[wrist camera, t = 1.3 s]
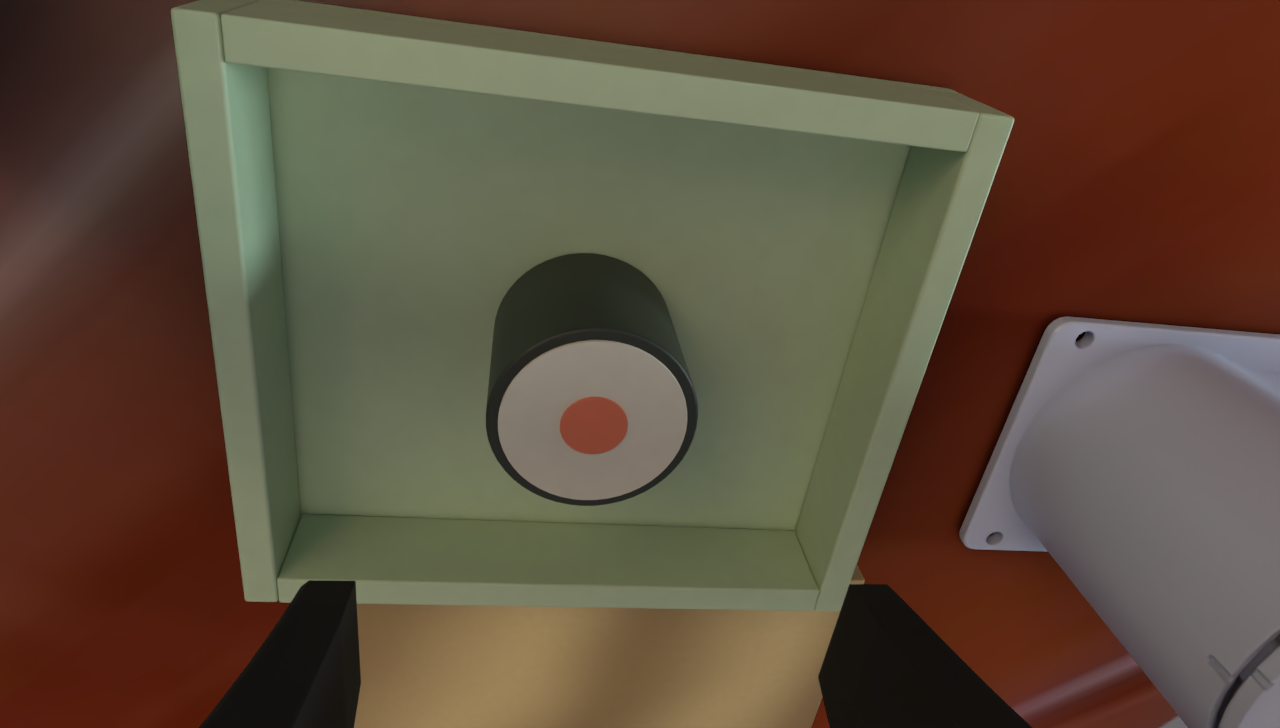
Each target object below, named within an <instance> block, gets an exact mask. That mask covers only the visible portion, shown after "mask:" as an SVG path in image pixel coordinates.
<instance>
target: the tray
mask: <svg viewBox="0 0 1280 728" xmlns="http://www.w3.org/2000/svg"><path fill="white" fill-rule="evenodd" d="M171 19H172V27H173V35H174V43H175V51H176V59H177V66H178V74H179V82H180V90H181V98H182V106H183V114H184V122H185V130H186V138H187V146H188V154H189V161H190V169H191V177H192V185H193V193H194V201H195V209H196V217H197V225H198V233H199V241H200V248H201V256H202V264H203V272H204V280H205V288H206V296H207V304H208V312H209V320H210V328H211V336H212V343H213V351H214V359H215V367H216V375H217V383H218V391H219V399H220V407H221V415H222V423H223V430H224V438H225V446H226V454H227V462H228V470H229V478H230V486H231V494H232V502H233V510H234V518H235V525H236V533H237V541H238V549H239V557H240V565H241V573H242V581H243V589H244V597H245V600H246V601H248V602H277V601H278V599H279V601H280V602H288V603H291V601H292V600H293V598H294V597H295V595H296V593H297V592H298V590H299V589H300V587H301V586H302V585H304V584H305V583H306V582H308V581H309V580H313V581H355V582H356V600H357V604H409V605H470V606H531V607H591V608H652V609H713V610H774V611H813V609H814V610H815V611H840V610H841V607H842V604H843V601H844V598H845V596H846V593H847V590H848V587H849V584H850V582H851V579H852V576H853V573H854V570H855V567H856V565H857V562H858V559H859V556H860V553H861V551H862V548H863V545H864V542H865V539H866V537H867V534H868V531H869V528H870V525H871V523H872V520H873V517H874V514H875V511H876V508H877V506H878V503H879V500H880V497H881V494H882V492H883V489H884V486H885V483H886V480H887V478H888V475H889V472H890V469H891V466H892V464H893V461H894V458H895V455H896V452H897V449H898V447H899V444H900V441H901V438H902V435H903V433H904V430H905V427H906V424H907V421H908V419H909V416H910V413H911V410H912V407H913V405H914V402H915V399H916V396H917V393H918V390H919V388H920V385H921V382H922V379H923V376H924V374H925V371H926V368H927V365H928V362H929V360H930V357H931V354H932V351H933V348H934V346H935V343H936V340H937V337H938V334H939V332H940V329H941V326H942V323H943V320H944V317H945V315H946V312H947V309H948V306H949V303H950V301H951V298H952V295H953V292H954V289H955V287H956V284H957V281H958V278H959V275H960V273H961V270H962V267H963V264H964V261H965V258H966V256H967V253H968V250H969V247H970V244H971V242H972V239H973V236H974V233H975V230H976V228H977V225H978V222H979V219H980V216H981V214H982V211H983V208H984V205H985V202H986V199H987V197H988V194H989V191H990V188H991V185H992V183H993V180H994V177H995V174H996V171H997V169H998V166H999V163H1000V160H1001V157H1002V155H1003V152H1004V149H1005V146H1006V143H1007V140H1008V138H1009V135H1010V132H1011V129H1012V126H1013V124H1014V118H1013V117H1012V116H1010V115H1008V114H1005V113H1003V112H1001V111H998V110H996V109H994V108H992V107H989V106H987V105H985V104H982V103H980V102H978V101H976V100H973V99H971V98H969V97H967V96H964V95H962V94H960V93H957V92H956V91H954V90H951V89H949V88H942V87H934V86H927V85H920V84H912V83H905V82H897V81H890V80H883V79H875V78H868V77H860V76H853V75H846V74H838V73H831V72H823V71H816V70H809V69H801V68H794V67H786V66H779V65H772V64H764V63H757V62H749V61H742V60H735V59H727V58H720V57H712V56H705V55H698V54H690V53H683V52H675V51H668V50H661V49H653V48H646V47H638V46H631V45H624V44H616V43H609V42H601V41H594V40H587V39H579V38H572V37H564V36H557V35H550V34H542V33H535V32H527V31H520V30H513V29H505V28H498V27H490V26H483V25H476V24H468V23H461V22H453V21H446V20H439V19H431V18H424V17H416V16H409V15H402V14H394V13H387V12H379V11H372V10H365V9H357V8H350V7H342V6H335V5H328V4H320V3H313V2H305V1H298V0H199V1H195V2H191V3H188V4H184V5H181V6H177V7H174V8H172V9H171ZM577 253H594V254H600V255H606V256H610V257H613V258H617V259H619V260H622V261H624V262H626V263H628V264H630V265H632V266H633V267H635V268H637V269H638V270H640V271H641V272H642V273H643V274H645V275H646V276H647V277H648V278H649V279H650V280H651V281H652V282H653V283H654V284H655V286H656V287H657V289H658V290H659V291H660V293H661V295H662V297H663V298H664V300H665V302H666V305H667V308H668V311H669V314H670V317H671V320H672V323H673V326H674V329H675V332H676V335H677V338H678V341H679V344H680V347H681V350H682V353H683V356H684V359H685V362H686V365H687V368H688V371H689V374H690V377H691V380H692V383H693V386H694V389H695V392H696V397H697V402H698V421H697V428H696V431H695V435H694V438H693V441H692V443H691V445H690V447H689V450H688V451H687V453H686V455H685V456H684V458H683V459H682V461H681V462H680V463H679V465H678V466H677V467H676V468H675V469H674V470H673V471H672V472H671V473H670V474H669V475H668V476H667V477H666V478H665V479H664V480H662V481H661V482H660V483H658V484H657V485H656V486H654V487H652V488H651V489H649V490H647V491H646V492H644V493H641V494H639V495H637V496H635V497H633V498H630V499H627V500H624V501H620V502H616V503H611V504H606V505H597V506H578V505H569V504H563V503H558V502H555V501H552V500H548V499H545V498H543V497H541V496H538V495H536V494H534V493H532V492H530V491H529V490H527V489H525V488H524V487H522V486H521V485H520V484H518V483H517V482H516V481H515V480H513V479H512V478H511V477H510V476H509V474H508V473H507V472H506V471H505V470H504V469H503V468H502V466H501V465H500V463H499V462H498V461H497V459H496V457H495V455H494V453H493V451H492V449H491V446H490V444H489V441H488V437H487V431H486V406H487V395H488V385H489V374H490V363H491V353H492V342H493V332H494V324H495V318H496V314H497V311H498V308H499V306H500V304H501V301H502V299H503V298H504V296H505V294H506V293H507V291H508V290H509V289H510V287H511V286H512V285H513V284H514V283H515V282H516V281H517V280H518V279H519V278H520V277H521V276H522V275H523V274H524V273H526V272H527V271H529V270H530V269H532V268H533V267H535V266H537V265H539V264H541V263H542V262H544V261H547V260H550V259H552V258H555V257H559V256H563V255H568V254H577Z"/></svg>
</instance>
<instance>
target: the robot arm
mask: <svg viewBox="0 0 1280 728" xmlns="http://www.w3.org/2000/svg"><path fill="white" fill-rule="evenodd" d="M1083 332H1085V335H1084V336H1083V337H1082V338H1081V339H1080V340H1078V341H1076V338H1077V337H1078V336H1079V335H1080V334H1081V333H1083ZM992 533H994V534H992ZM990 534H992V535H990ZM989 535H990V536H989ZM959 536H960V539H961V540H962V542H963V543H964V545H965V546H966V547H968V548H970V549H981V550H1013V551H1045V552H1049V554H1050V555H1051V556H1052V557H1053V559H1054V560H1055V561H1056V562H1057V564H1058V565H1059V566H1060V567H1061V569H1062V570H1063V571H1064V572H1065V574H1066V575H1067V576H1068V577H1069V579H1070V580H1071V581H1072V583H1073V584H1074V585H1075V586H1076V588H1077V589H1078V590H1079V591H1080V593H1081V594H1082V595H1083V596H1084V598H1085V599H1086V600H1087V601H1088V603H1089V604H1090V605H1091V606H1092V608H1093V609H1094V610H1095V611H1096V613H1097V614H1098V615H1099V616H1100V618H1101V619H1102V620H1103V621H1104V623H1105V624H1106V625H1107V626H1108V628H1109V629H1110V630H1111V631H1112V633H1113V634H1114V635H1115V636H1116V638H1117V639H1118V640H1119V641H1120V643H1121V644H1122V645H1123V646H1124V648H1125V649H1126V650H1127V651H1128V653H1129V654H1130V655H1131V657H1132V658H1133V659H1134V660H1135V662H1136V663H1137V664H1138V665H1139V667H1140V668H1141V669H1142V670H1143V672H1144V673H1145V674H1146V675H1147V677H1148V678H1149V679H1150V680H1151V682H1152V683H1153V684H1154V685H1155V687H1156V688H1157V689H1158V690H1159V692H1160V693H1161V694H1162V695H1163V697H1164V698H1165V699H1166V700H1167V702H1168V703H1169V704H1170V705H1171V707H1172V708H1173V709H1174V710H1175V712H1176V713H1177V714H1178V715H1179V717H1180V718H1181V719H1182V720H1183V722H1184V723H1185V724H1186V725H1187V727H1188V728H1280V335H1278V334H1267V333H1255V332H1243V331H1232V330H1220V329H1209V328H1197V327H1185V326H1174V325H1162V324H1150V323H1139V322H1127V321H1115V320H1104V319H1092V318H1081V317H1069V316H1067V317H1060V318H1058V319H1056V320H1054V321H1053V322H1052V323H1050V324H1049V325H1048V327H1047V328H1046V330H1045V331H1044V333H1043V336H1042V338H1041V341H1040V343H1039V345H1038V348H1037V350H1036V352H1035V355H1034V357H1033V359H1032V362H1031V364H1030V366H1029V369H1028V371H1027V373H1026V376H1025V378H1024V381H1023V383H1022V385H1021V388H1020V390H1019V392H1018V395H1017V397H1016V399H1015V402H1014V404H1013V406H1012V409H1011V411H1010V413H1009V416H1008V418H1007V420H1006V423H1005V425H1004V428H1003V430H1002V432H1001V435H1000V437H999V439H998V442H997V444H996V446H995V449H994V451H993V453H992V456H991V458H990V460H989V463H988V465H987V467H986V470H985V472H984V475H983V477H982V479H981V482H980V484H979V486H978V489H977V491H976V493H975V496H974V498H973V500H972V503H971V505H970V507H969V510H968V512H967V515H966V517H965V519H964V522H963V524H962V526H961V529H960V532H959ZM818 679H819V684H820V688H821V692H822V696H823V701H824V705H825V709H826V714H827V718H828V721H829V725H830V728H1032V727H1031V726H1030V725H1029V724H1028V723H1027V722H1026V721H1025V720H1024V719H1022V718H1021V717H1020V716H1019V715H1018V714H1017V713H1016V712H1015V711H1014V710H1013V709H1012V708H1011V707H1010V706H1009V705H1008V704H1006V703H1005V702H1004V701H1003V700H1002V699H1001V698H1000V697H999V696H998V695H997V694H996V693H995V692H994V691H993V690H992V689H991V688H990V687H989V686H988V685H987V684H986V683H985V682H984V681H983V680H982V679H981V678H980V677H979V676H978V675H977V674H976V673H975V672H974V671H973V670H972V669H971V668H970V667H969V666H968V665H967V664H966V663H965V662H964V661H963V660H962V659H961V658H960V657H959V656H958V655H957V654H956V653H955V652H954V651H953V650H952V649H951V648H950V647H949V646H948V645H947V644H946V643H945V642H944V641H943V640H942V639H941V638H940V637H939V636H938V635H937V634H936V633H935V632H934V631H933V630H932V629H931V628H930V627H929V626H928V625H927V624H926V623H925V622H924V621H923V620H922V619H921V618H920V617H919V616H918V615H917V614H916V613H915V612H914V611H913V610H912V609H911V608H910V607H909V606H908V605H907V604H906V603H905V602H904V601H903V600H902V599H901V598H900V597H899V596H898V595H897V594H896V593H895V592H894V591H893V590H892V589H891V588H890V587H889V586H888V585H875V584H849V587H848V590H847V593H846V596H845V599H844V602H843V605H842V608H841V611H840V614H839V617H838V620H837V623H836V625H835V628H834V631H833V634H832V637H831V640H830V643H829V646H828V649H827V652H826V655H825V658H824V661H823V664H822V666H821V669H820V672H819V675H818ZM360 686H361V674H360V655H359V637H358V619H357V600H356V582H355V581H313V580H309V581H308V582H306V583H305V584H304V585H302V586H301V587H300V589H299V590H298V592H297V593H296V595H295V597H294V598H293V600H292V601H291V603H290V605H289V606H288V608H287V609H286V611H285V612H284V614H283V615H282V617H281V618H280V620H279V621H278V623H277V624H276V626H275V627H274V629H273V630H272V632H271V633H270V634H269V636H268V637H267V639H266V640H265V642H264V643H263V644H262V646H261V647H260V649H259V650H258V651H257V653H256V654H255V656H254V657H253V658H252V660H251V661H250V662H249V664H248V665H247V667H246V668H245V669H244V671H243V672H242V673H241V674H240V676H239V677H238V678H237V680H236V681H235V682H234V684H233V685H232V686H231V687H230V689H229V690H228V691H227V693H226V694H225V695H224V697H223V698H222V699H221V700H220V702H219V703H218V704H217V706H216V707H215V708H214V710H213V711H212V712H211V713H210V715H209V716H208V717H207V718H206V720H205V721H204V722H203V723H202V725H201V726H200V727H199V728H354V724H355V717H356V711H357V705H358V699H359V692H360Z"/></svg>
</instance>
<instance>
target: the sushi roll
mask: <svg viewBox="0 0 1280 728" xmlns="http://www.w3.org/2000/svg"><path fill="white" fill-rule="evenodd" d="M697 421H698V402H697V397H696V392H695V389H694V386H693V383H692V380H691V377H690V374H689V371H688V368H687V365H686V362H685V359H684V356H683V353H682V350H681V347H680V344H679V341H678V338H677V335H676V332H675V329H674V326H673V323H672V320H671V317H670V314H669V311H668V308H667V305H666V302H665V300H664V298H663V297H662V295H661V293H660V291H659V290H658V289H657V287H656V286H655V284H654V283H653V282H652V281H651V280H650V279H649V278H648V277H647V276H646V275H645V274H643V273H642V272H641V271H640V270H638V269H637V268H635V267H633V266H632V265H630V264H628V263H626V262H624V261H622V260H619V259H617V258H613V257H610V256H606V255H600V254H594V253H577V254H568V255H563V256H559V257H555V258H552V259H550V260H547V261H544V262H542V263H541V264H539V265H537V266H535V267H533V268H532V269H530V270H529V271H527V272H526V273H524V274H523V275H522V276H521V277H520V278H519V279H518V280H517V281H516V282H515V283H514V284H513V285H512V286H511V287H510V289H509V290H508V291H507V293H506V294H505V296H504V298H503V299H502V301H501V304H500V306H499V308H498V311H497V314H496V318H495V324H494V332H493V342H492V353H491V363H490V374H489V385H488V395H487V406H486V431H487V437H488V441H489V444H490V446H491V449H492V451H493V453H494V455H495V457H496V459H497V461H498V462H499V463H500V465H501V466H502V468H503V469H504V470H505V471H506V472H507V473H508V474H509V476H510V477H511V478H512V479H513V480H515V481H516V482H517V483H518V484H520V485H521V486H522V487H524V488H525V489H527V490H529V491H530V492H532V493H534V494H536V495H538V496H541V497H543V498H545V499H548V500H552V501H555V502H558V503H563V504H569V505H578V506H597V505H606V504H611V503H616V502H620V501H624V500H627V499H630V498H633V497H635V496H637V495H639V494H641V493H644V492H646V491H647V490H649V489H651V488H652V487H654V486H656V485H657V484H658V483H660V482H661V481H662V480H664V479H665V478H666V477H667V476H668V475H669V474H670V473H671V472H672V471H673V470H674V469H675V468H676V467H677V466H678V465H679V463H680V462H681V461H682V459H683V458H684V456H685V455H686V453H687V451H688V450H689V447H690V445H691V443H692V441H693V438H694V435H695V431H696V428H697Z"/></svg>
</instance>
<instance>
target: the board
mask: <svg viewBox="0 0 1280 728" xmlns="http://www.w3.org/2000/svg"><path fill="white" fill-rule="evenodd" d="M850 584H864V578H863V576H862V574H861V572H860V570H859V568H858V566H857V565H856V567H855V570H854V573H853V576H852V579H851V582H850ZM844 599H845V598H844ZM843 602H844V601H843ZM842 605H843V604H842ZM841 608H842V607H841ZM840 611H841V610H840ZM840 611H815V610H814V609H813V611H774V610H713V609H652V608H591V607H531V606H470V605H409V604H357V619H358V637H359V655H360V674H361V686H360V692H359V699H358V705H357V711H356V717H355V724H354V728H811V726H812V723H813V721H814V718H815V715H816V712H817V710H818V707H819V704H820V701H821V699H822V692H821V688H820V684H819V679H818V675H819V672H820V669H821V666H822V664H823V661H824V658H825V655H826V652H827V649H828V646H829V643H830V640H831V637H832V634H833V631H834V628H835V625H836V623H837V620H838V617H839V614H840Z"/></svg>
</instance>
